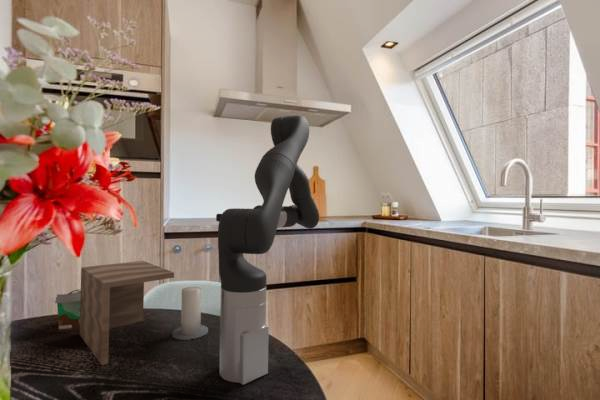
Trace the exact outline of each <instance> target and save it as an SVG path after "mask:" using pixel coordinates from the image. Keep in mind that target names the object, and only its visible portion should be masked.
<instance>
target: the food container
mask: <svg viewBox="0 0 600 400" xmlns="http://www.w3.org/2000/svg"><path fill="white" fill-rule="evenodd" d="M80 302H81V288H80V289H74V290H72V291H70V292H68V293H65V294H62V293H61V294H59V293H57V294H56V297H55V302H54V303H55V304H56V305H57V308H56V309H57V322H58V332H59V333H60V332H62V333H64V332H65V333H66V332H72V331H78V330H80Z"/></svg>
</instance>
